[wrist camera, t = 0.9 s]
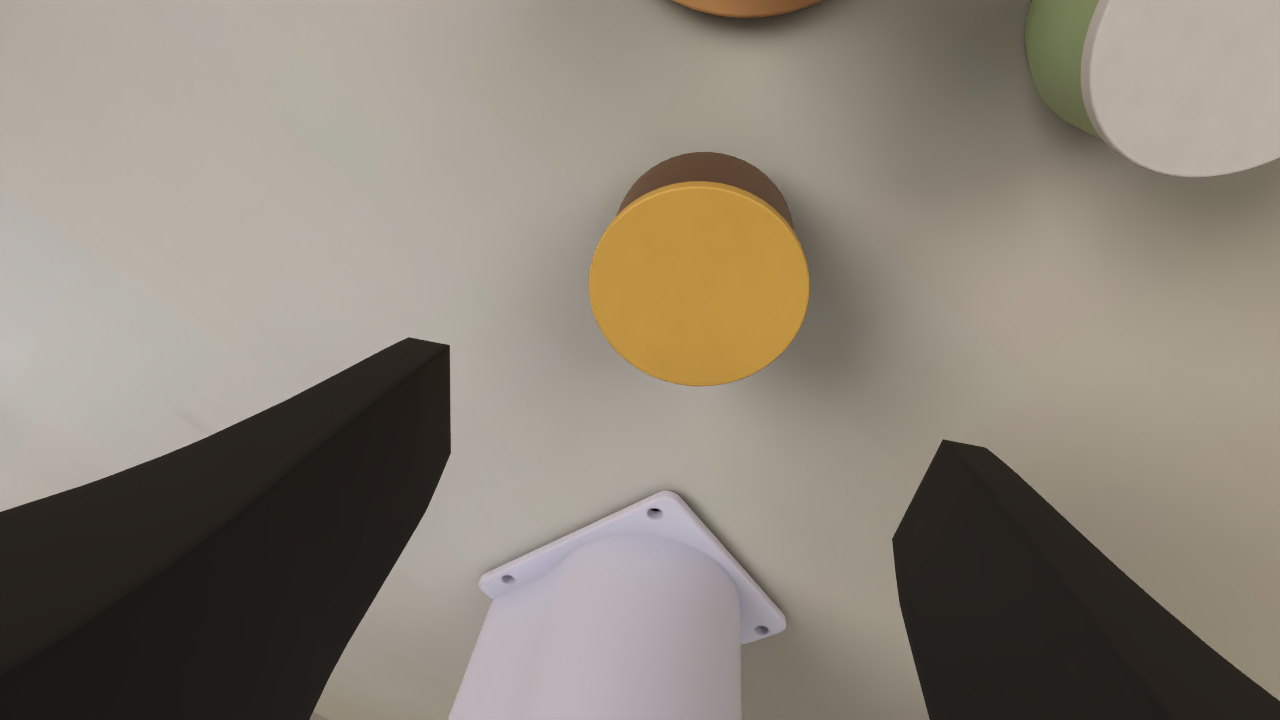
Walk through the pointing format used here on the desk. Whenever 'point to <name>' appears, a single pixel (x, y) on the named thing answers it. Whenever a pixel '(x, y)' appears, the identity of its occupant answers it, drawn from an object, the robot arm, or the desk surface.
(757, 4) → the coaster
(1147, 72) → the cylinder
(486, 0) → the desk surface
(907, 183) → the desk surface
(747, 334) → the brown pod
